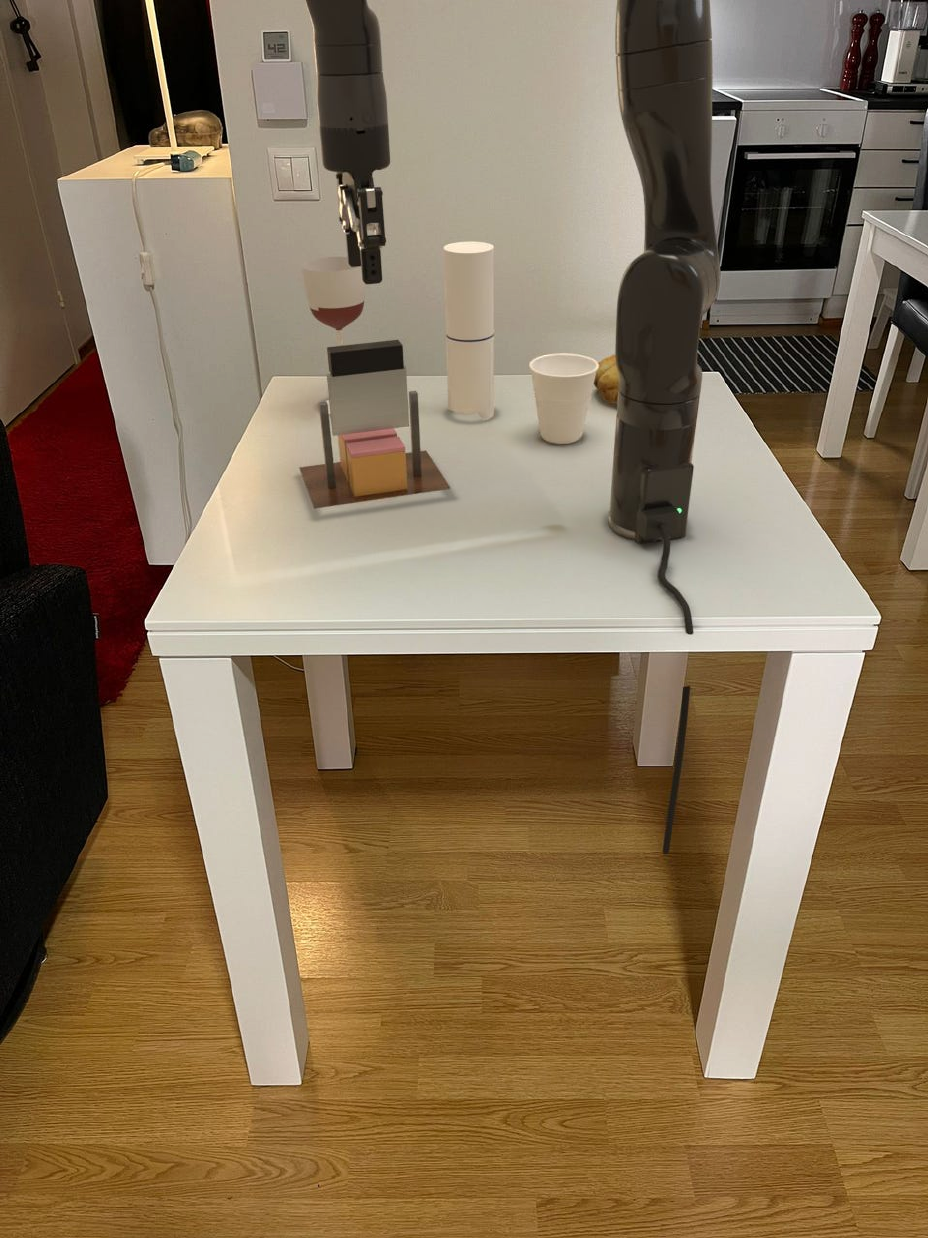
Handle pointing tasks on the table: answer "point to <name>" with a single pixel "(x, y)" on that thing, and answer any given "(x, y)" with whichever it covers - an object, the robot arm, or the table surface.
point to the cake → (373, 461)
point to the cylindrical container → (470, 327)
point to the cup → (562, 394)
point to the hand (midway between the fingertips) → (364, 274)
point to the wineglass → (334, 292)
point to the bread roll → (607, 379)
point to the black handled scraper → (367, 387)
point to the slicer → (334, 488)
